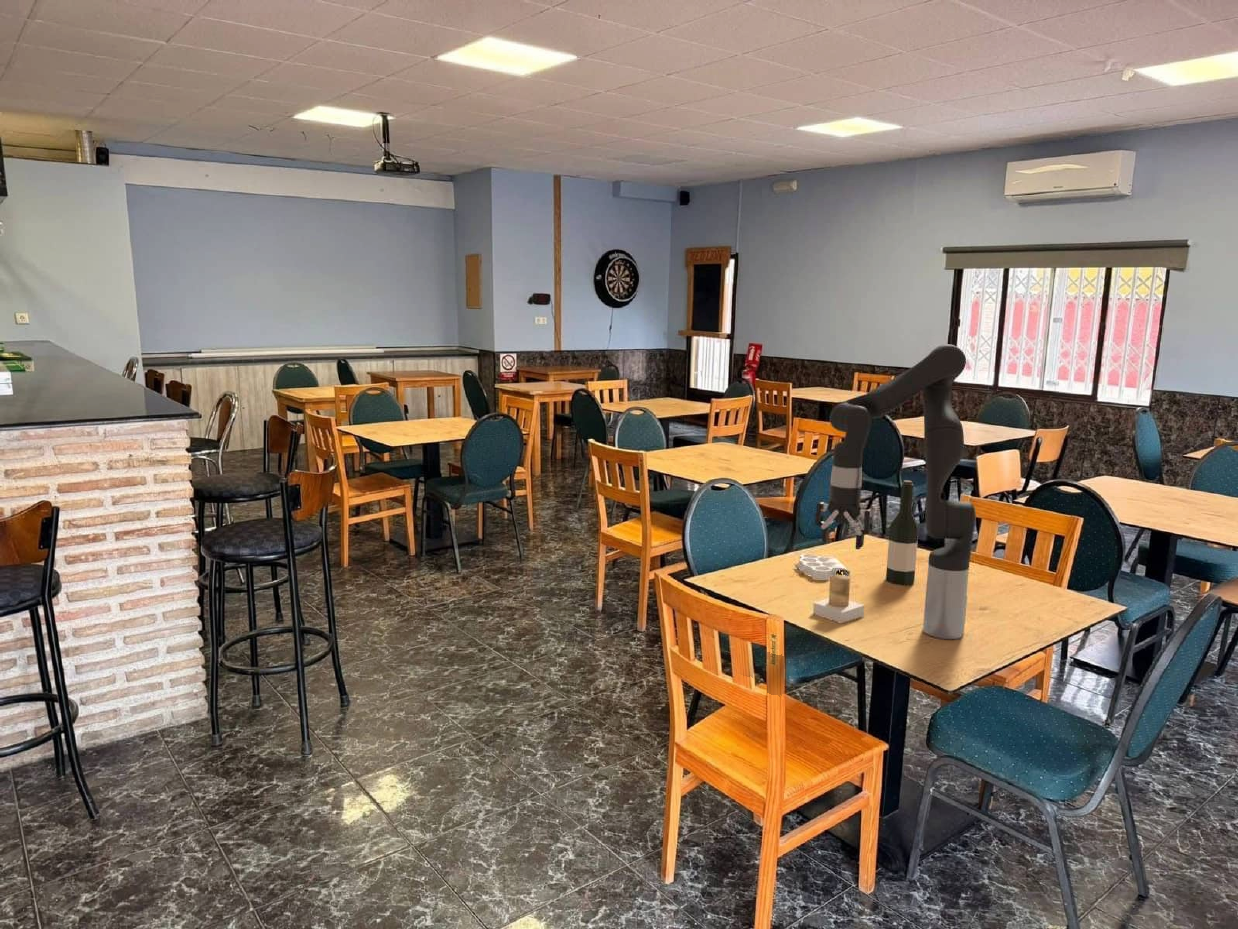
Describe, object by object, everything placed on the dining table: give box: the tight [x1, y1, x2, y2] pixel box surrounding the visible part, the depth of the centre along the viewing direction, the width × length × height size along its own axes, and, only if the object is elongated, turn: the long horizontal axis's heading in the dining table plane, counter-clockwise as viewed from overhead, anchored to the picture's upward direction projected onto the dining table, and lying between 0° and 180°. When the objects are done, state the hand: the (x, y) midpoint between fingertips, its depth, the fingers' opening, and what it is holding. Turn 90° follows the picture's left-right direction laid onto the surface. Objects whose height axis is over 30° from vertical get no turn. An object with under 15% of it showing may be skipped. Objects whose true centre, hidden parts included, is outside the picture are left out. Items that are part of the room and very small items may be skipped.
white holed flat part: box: [793, 553, 851, 581], centre depth 252 cm, size 3×18×15 cm
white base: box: [812, 597, 865, 624], centre depth 216 cm, size 9×9×3 cm
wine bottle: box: [885, 479, 920, 587], centre depth 242 cm, size 8×8×30 cm
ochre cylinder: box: [828, 574, 851, 607], centre depth 215 cm, size 5×5×7 cm
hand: (841, 545), depth 212 cm, fingers open, 8 cm apart
